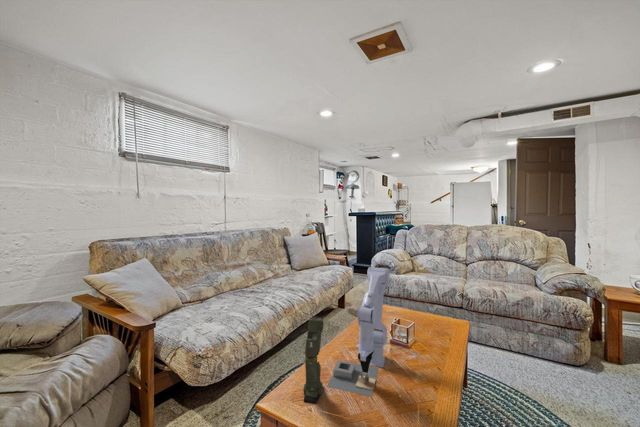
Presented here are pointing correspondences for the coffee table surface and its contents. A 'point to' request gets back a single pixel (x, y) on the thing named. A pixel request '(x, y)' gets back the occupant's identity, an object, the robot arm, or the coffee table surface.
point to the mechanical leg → (313, 361)
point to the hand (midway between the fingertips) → (365, 369)
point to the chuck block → (344, 370)
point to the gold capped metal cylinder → (365, 375)
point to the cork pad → (366, 384)
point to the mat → (353, 381)
